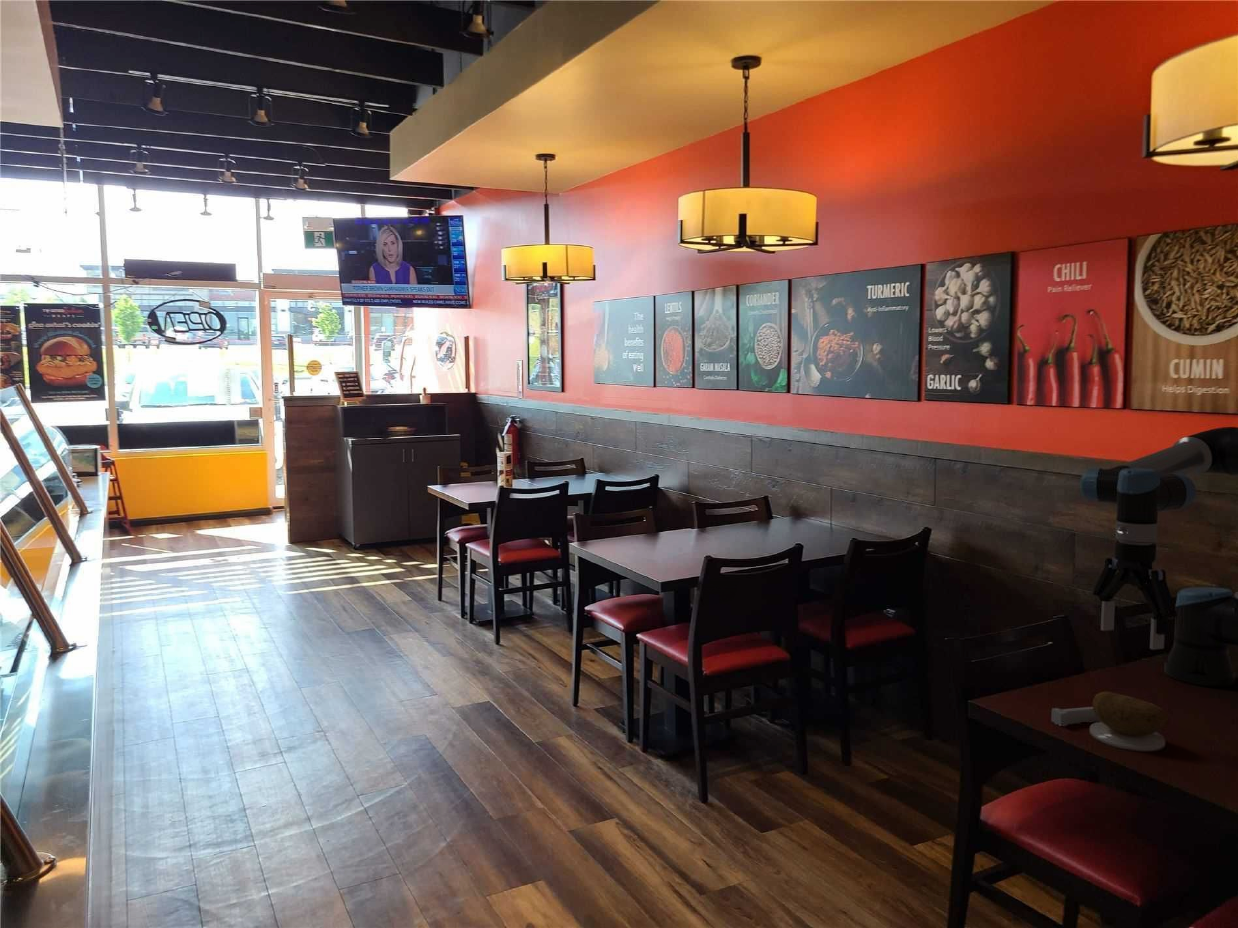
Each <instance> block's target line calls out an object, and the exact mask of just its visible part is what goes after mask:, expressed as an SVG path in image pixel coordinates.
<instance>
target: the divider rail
mask: <svg viewBox="0 0 1238 928" xmlns="http://www.w3.org/2000/svg"><path fill="white" fill-rule="evenodd" d="M1050 720H1051V721H1052V722H1051V723H1053V722H1054V723H1053V724H1055V725H1057V724H1058V725H1059V727H1060V726H1063V727H1067V726H1068V725H1075V723H1076V724H1082V723H1081V722H1087V723H1096V722H1101V721H1100V720H1099V719H1098V718H1097V716H1096V714H1095V712H1094V710H1093V706H1087V707H1076V708H1075V707H1074V708H1065V709H1061V708H1059V707H1055V708H1053V707H1052V708H1051V718H1050ZM1058 725H1057V726H1058Z"/></svg>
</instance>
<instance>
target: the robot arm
mask: <svg viewBox="0 0 1238 928" xmlns="http://www.w3.org/2000/svg"><path fill="white" fill-rule="evenodd" d="M1205 473H1206V474H1219V475H1221V474H1223V475H1228V476H1229V475H1230V476H1238V427H1237V426H1224V427H1217V428H1216V427H1215V428H1212V429H1209V430H1203V431H1200V432H1197V433H1194V434H1193V433H1192V434H1190V435H1187V436H1185V437H1182V438H1180V439H1178V440H1177V441H1176V442H1175V443H1174V444H1173V445H1172V446H1170V447H1167V448H1164V449H1161V450H1158V451H1155V452H1153V453H1151V454H1147V455H1144V456H1143V457H1138V458H1137V459H1134V460H1130V461H1128V462H1125V463H1123V464H1119V465H1117V466H1114V467H1111V468H1101V467H1099V468H1087V470H1085V472H1083V474H1082V476H1081V478H1080V483H1079V486H1080V492H1081V495H1082V496H1083V497H1084V499H1087V500H1089V501H1090V500H1091V501H1096V502H1098V503H1109V504H1115V505H1116V518H1115V520H1116V522H1115V523H1116V525H1115V538H1116V540H1115V542H1114V543H1115V544H1114V557H1107V558H1105V561H1104V567H1103V569H1102V572H1101V574H1100V576H1099V577H1098V580H1097V582H1096V584H1095V586H1094V589H1093V590H1092V594H1093V595H1094V596H1097V597H1098V600H1099V602H1100V603H1099V612H1100V616H1101V617H1100V618H1101V619H1100V631H1103V632H1105V631H1107V632H1108V631H1114V630H1115V629H1114V628H1115V612H1116V611H1115V608H1116V601H1115V600H1114V599H1115V596H1116V595H1117V594H1118V592H1119V591H1120V590H1121V589H1122V588H1123V587H1124V586H1125V585H1128V584H1129V585H1131V586H1133V587H1136V588H1137V589H1138V590H1139V591H1141V594H1142V595H1143V597H1144V599H1145V600H1146V603H1147V605H1148V606H1149V609H1150V610H1151V613H1152V615H1153V617H1150V633H1149V634H1150V635H1149V636H1150V637H1149V638H1150V639H1149V649H1150V650H1162V649H1164V648H1165V635H1167V633H1168V620H1170V619H1174V635H1173V636H1174V638H1173V645H1172V647H1171V649H1170V651H1169V655H1168V656H1167V659H1166V660H1165V662H1164V667H1163V668H1164V671H1163V672H1164V674H1165V675H1167V676H1168V677H1170V678H1172V679H1175V680H1178V681H1181V682H1184V683H1188V684H1191V685H1192V684H1193V685H1197V686H1198V685H1199V686H1204V687H1216V688H1217V687H1220V688H1221V687H1229V686H1233V685H1234V684H1235V683H1236V682H1235V681H1236V672H1235V670H1234V669H1233V664H1232V660H1231V657H1230V652H1229V645H1230V646H1234V647H1238V591H1237V592H1235V593H1234V594H1233V592H1232V590H1231V589H1228V588H1225V587H1224V588H1223V587H1211V586H1208V587H1207V586H1204V587H1203V586H1198V587H1197V586H1196V587H1195V586H1194V587H1193V586H1192V587H1186V588H1182V589H1180V590H1179V591H1178V592H1177V596H1176V601H1175V602H1176V603H1175V604H1174V602H1173V598H1172V595H1171V592H1170V590H1169V586H1168V583H1167V575H1166V574H1167V573H1166V570H1165V569H1153V563H1154V562H1155V561H1156V560H1157V559H1156V558H1157V545H1156V543H1155V542H1157V541H1158V518H1159V517H1158V515H1159V512H1163V511H1171V510H1174V511H1175V510H1179V509H1182V508H1185V507H1187V506H1189V505H1191V504H1192V503H1193V501H1194V500H1195V498H1196V495H1197V492H1196V491H1197V490H1196V486H1195V484H1194V482H1193V480H1192V479H1191V478H1190V477H1188V476H1187V475H1189V476H1199V475H1202V474H1205ZM1233 596H1234V597H1233ZM1234 682H1235V683H1234ZM1233 683H1234V684H1233Z"/></svg>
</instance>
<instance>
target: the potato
mask: <svg viewBox="0 0 1238 928" xmlns="http://www.w3.org/2000/svg"><path fill="white" fill-rule="evenodd" d="M1092 707H1093V710H1094V712H1095V714H1096V716H1097V718H1098V719H1099V720H1100V721H1099V722H1102V723H1104V724H1105V725H1106V726H1107V727H1109V728H1110V729H1112V730H1114V731H1116V732H1118V733H1121V734H1124V735H1132V736H1135V735H1148V734H1152V733H1154V732H1158V731H1160V730H1162V729H1164V726H1165V724H1166V722H1167V719H1168V716H1167V713H1166V711H1165V710H1164V709H1163V708H1162V707H1160V706H1157V705H1156V704H1154V703H1152V702H1149V701H1145V700H1142V699H1139V698H1136V697H1133V696H1129V695H1124V694H1120V693H1115V692H1111V691H1101V692H1098V693H1097V694H1095V696H1094V697H1093V701H1092Z"/></svg>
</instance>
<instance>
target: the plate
mask: <svg viewBox="0 0 1238 928" xmlns="http://www.w3.org/2000/svg"><path fill="white" fill-rule="evenodd" d="M1089 734H1090V736H1092V737H1093V738H1094V739H1095V740H1097V741H1098V742H1101V743H1103V744H1106V745H1108V746H1111V747H1113V748H1118V749H1122V750H1126V751H1131V752H1133V751H1135V752H1157V751H1161V750H1163V749H1164V748H1166V739H1165V737H1164V736H1163V735H1162V734H1160V733H1159V732H1158V731H1156V732H1154V733H1152V734H1148V735H1135V736H1132V735H1124V734H1121V733H1118V732H1116V731H1114V730H1112V729H1110V728H1109V727H1107V726H1106V725H1105V724H1104V723H1102V722H1101V721H1098V722H1093V723H1092V724H1091V725H1090V726H1089Z"/></svg>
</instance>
